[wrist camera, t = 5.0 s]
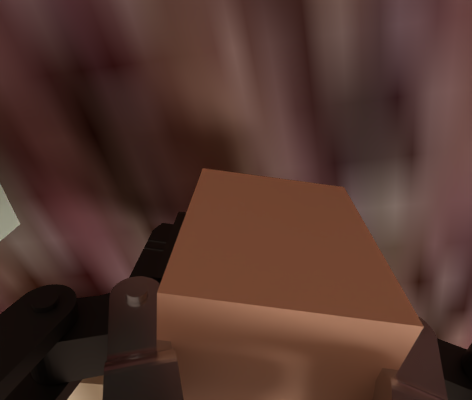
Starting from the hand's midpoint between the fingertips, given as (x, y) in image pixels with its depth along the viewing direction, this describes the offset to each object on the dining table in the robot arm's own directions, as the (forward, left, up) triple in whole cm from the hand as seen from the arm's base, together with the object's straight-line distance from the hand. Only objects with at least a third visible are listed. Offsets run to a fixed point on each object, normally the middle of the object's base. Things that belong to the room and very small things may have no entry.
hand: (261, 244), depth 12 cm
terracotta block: (0, 0, -1) cm, 1 cm away
